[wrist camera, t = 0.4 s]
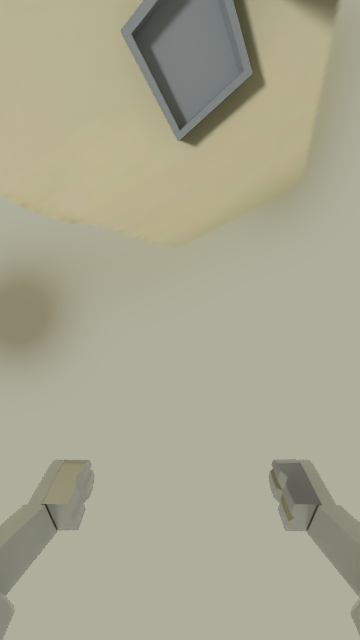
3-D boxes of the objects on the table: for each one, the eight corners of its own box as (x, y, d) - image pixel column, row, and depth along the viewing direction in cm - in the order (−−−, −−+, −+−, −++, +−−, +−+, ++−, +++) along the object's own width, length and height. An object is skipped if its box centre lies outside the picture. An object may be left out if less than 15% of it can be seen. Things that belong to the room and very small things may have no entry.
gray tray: (123, 36, 31) (120, 30, 28) (204, -68, 26) (210, -86, 23) (177, 139, 39) (178, 141, 37) (245, 76, 35) (252, 73, 32)
